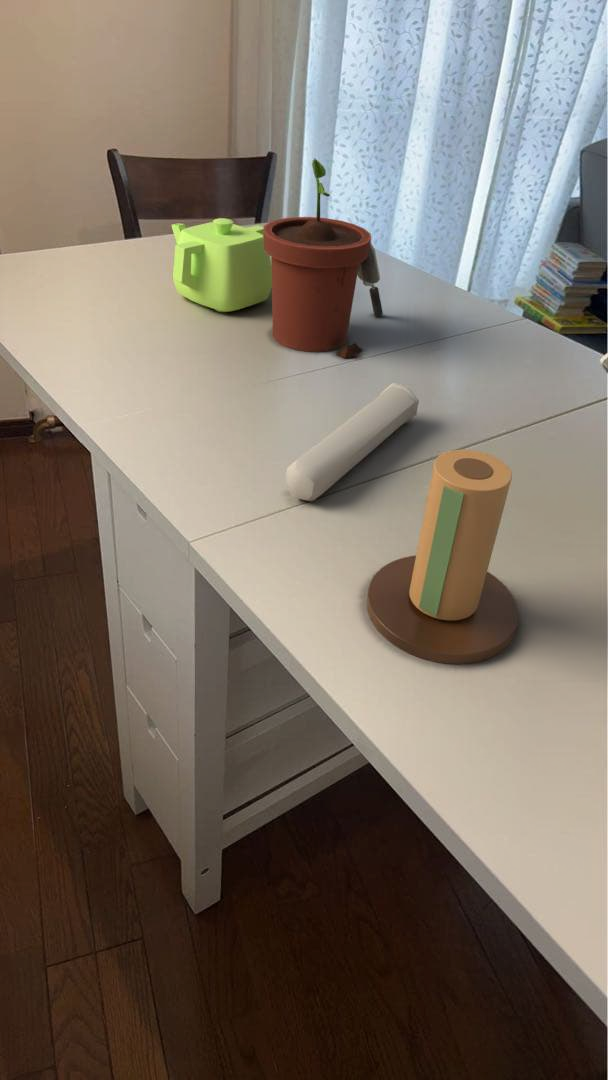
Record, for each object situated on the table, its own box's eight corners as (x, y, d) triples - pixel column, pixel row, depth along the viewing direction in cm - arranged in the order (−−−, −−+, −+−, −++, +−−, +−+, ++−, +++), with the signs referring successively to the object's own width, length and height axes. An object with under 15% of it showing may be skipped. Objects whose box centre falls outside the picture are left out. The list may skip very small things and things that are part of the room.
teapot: (133, 294, 134) (128, 213, 126) (218, 270, 147) (218, 195, 139) (209, 327, 125) (209, 242, 117) (293, 298, 138) (298, 220, 130)
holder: (530, 592, 78) (534, 580, 77) (494, 686, 68) (498, 673, 67) (396, 548, 82) (398, 536, 81) (343, 629, 72) (344, 617, 71)
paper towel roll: (486, 589, 75) (520, 461, 67) (466, 631, 71) (500, 499, 62) (422, 567, 77) (447, 441, 69) (398, 607, 72) (422, 476, 64)
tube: (324, 485, 84) (425, 398, 101) (284, 455, 85) (391, 374, 102) (307, 518, 87) (407, 429, 105) (269, 490, 88) (375, 406, 106)
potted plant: (253, 313, 131) (258, 147, 116) (381, 314, 135) (402, 153, 120) (265, 358, 117) (272, 176, 102) (407, 358, 121) (434, 182, 106)
